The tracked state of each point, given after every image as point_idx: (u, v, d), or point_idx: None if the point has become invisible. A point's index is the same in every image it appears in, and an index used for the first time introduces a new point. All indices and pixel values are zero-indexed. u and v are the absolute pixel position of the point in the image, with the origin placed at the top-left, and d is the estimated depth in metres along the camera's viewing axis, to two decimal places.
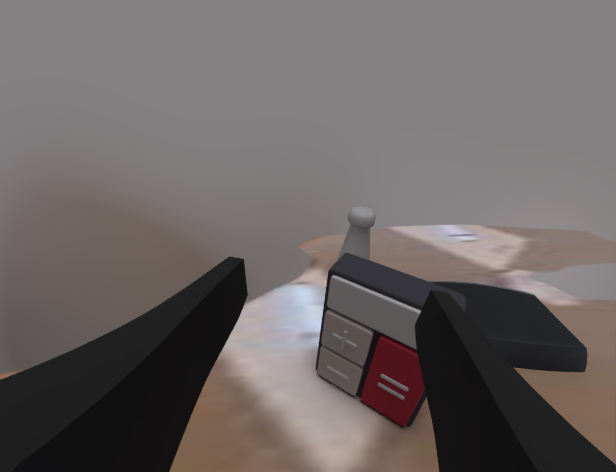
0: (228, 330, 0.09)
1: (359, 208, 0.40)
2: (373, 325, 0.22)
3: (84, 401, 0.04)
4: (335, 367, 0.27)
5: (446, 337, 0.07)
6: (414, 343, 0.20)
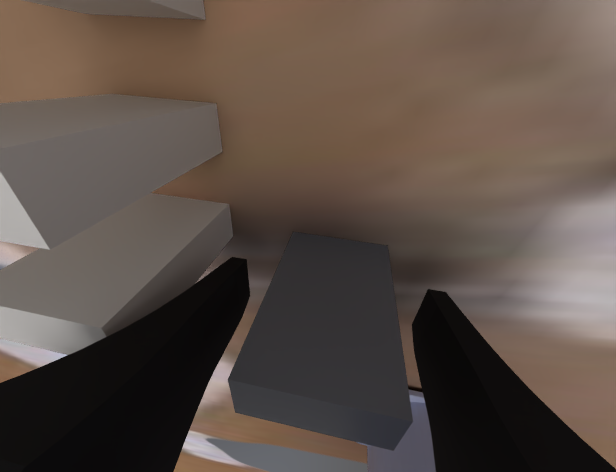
0: (231, 331, 0.09)
1: None
2: None
3: (90, 402, 0.04)
4: None
5: (443, 336, 0.07)
6: None
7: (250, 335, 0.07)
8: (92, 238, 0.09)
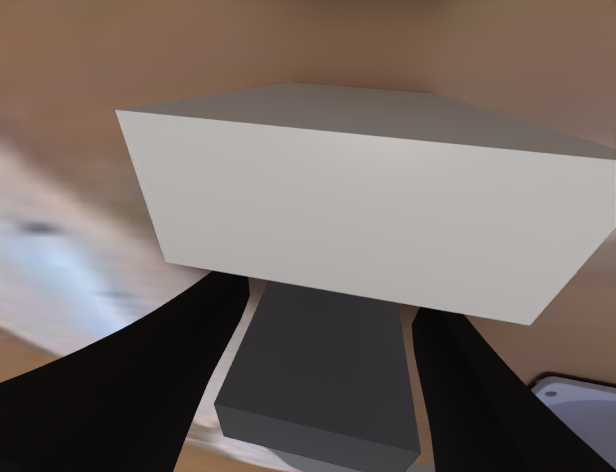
0: (230, 331, 0.09)
1: None
2: None
3: (90, 402, 0.04)
4: None
5: (442, 336, 0.07)
6: None
7: (240, 351, 0.07)
8: (298, 94, 0.05)
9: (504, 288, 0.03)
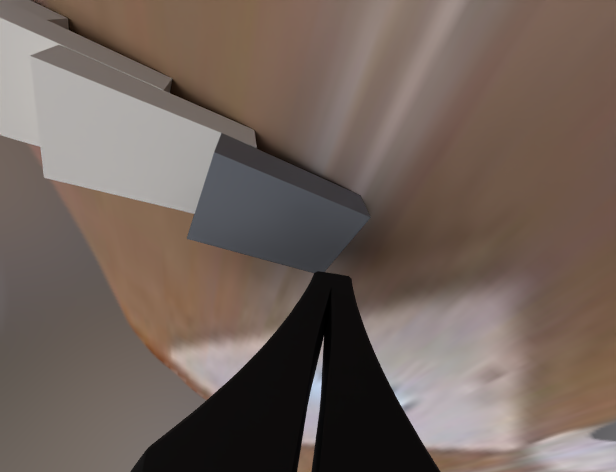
0: (320, 349, 0.09)
1: None
2: None
3: (281, 451, 0.04)
4: None
5: (329, 316, 0.08)
6: None
7: None
8: None
9: None
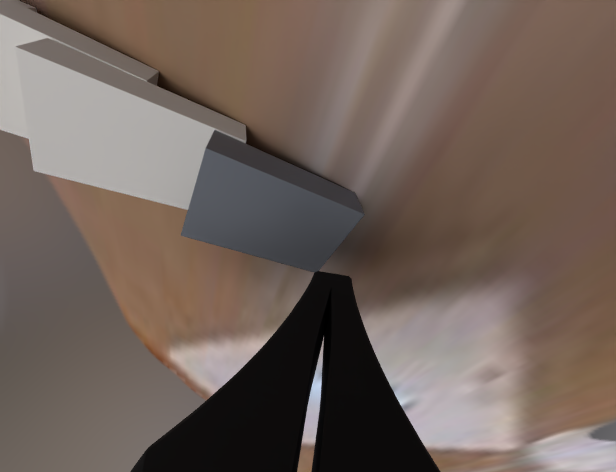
0: (320, 349, 0.09)
1: None
2: None
3: (281, 451, 0.04)
4: None
5: (329, 316, 0.08)
6: None
7: None
8: None
9: None
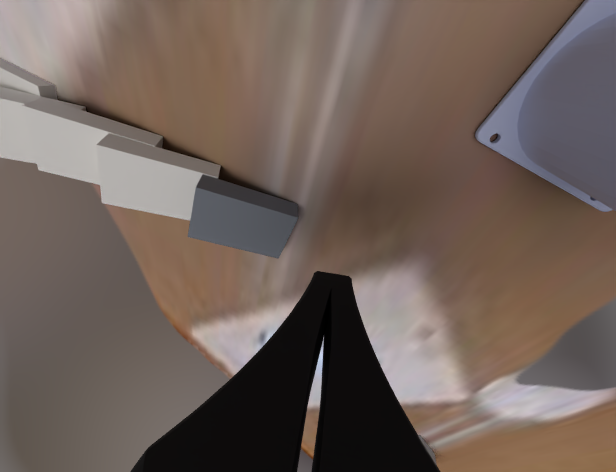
0: (320, 349, 0.09)
1: None
2: None
3: (281, 451, 0.04)
4: None
5: (329, 316, 0.08)
6: None
7: None
8: None
9: None
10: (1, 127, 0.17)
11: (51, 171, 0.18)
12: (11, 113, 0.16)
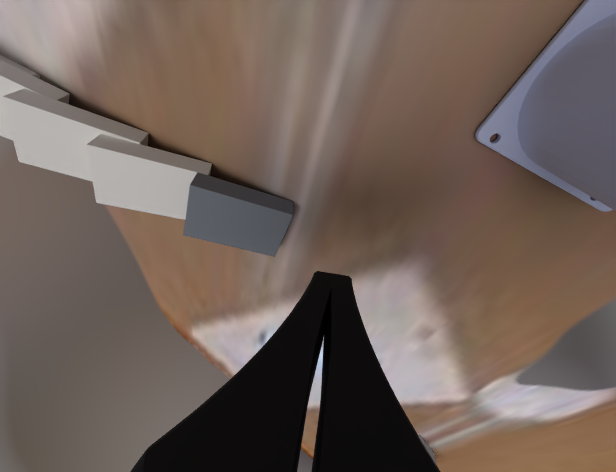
0: (320, 349, 0.09)
1: None
2: None
3: (281, 451, 0.04)
4: None
5: (329, 316, 0.08)
6: None
7: None
8: None
9: None
10: None
11: (32, 163, 0.17)
12: None
